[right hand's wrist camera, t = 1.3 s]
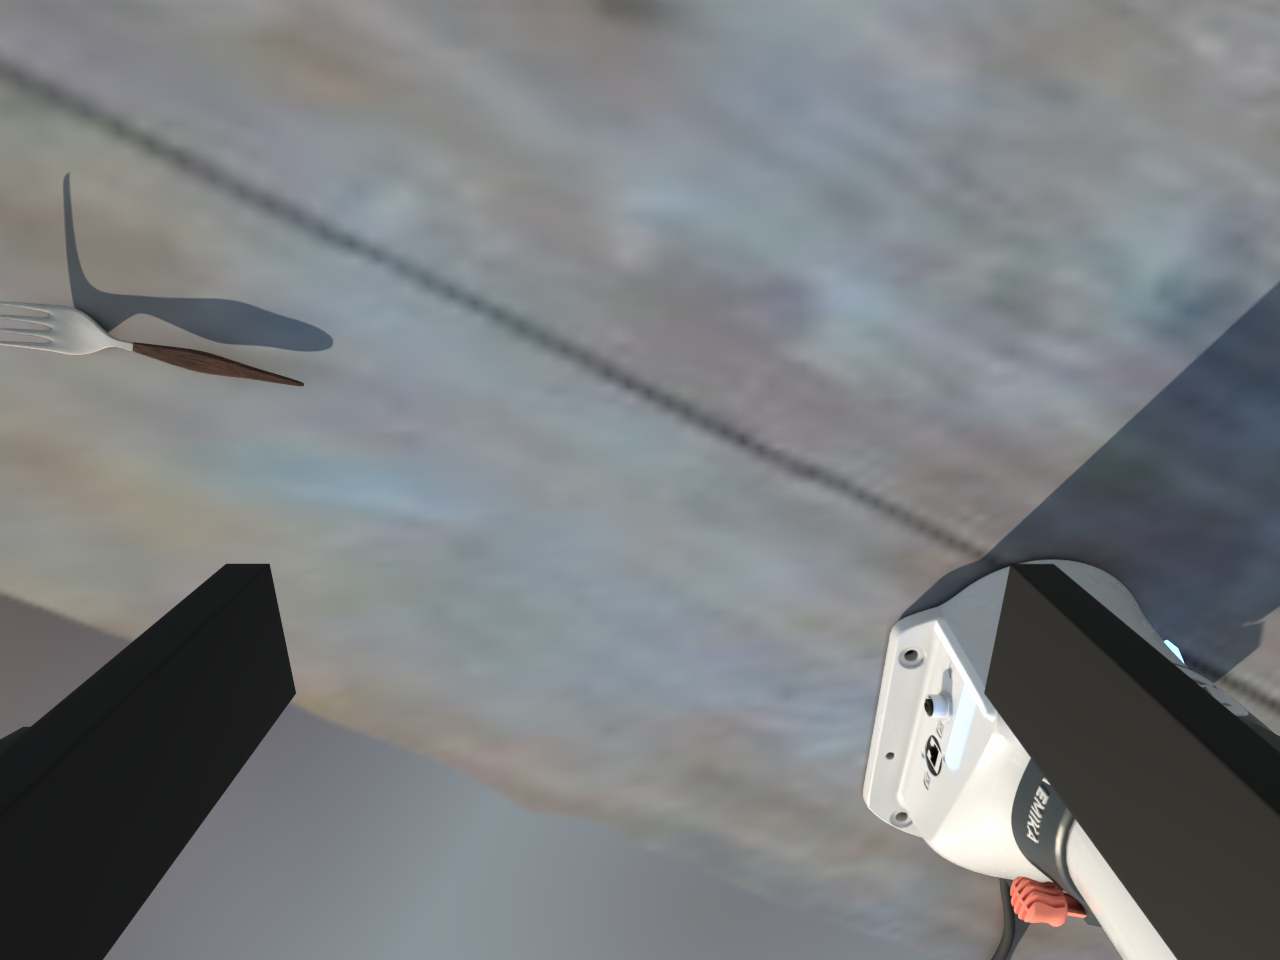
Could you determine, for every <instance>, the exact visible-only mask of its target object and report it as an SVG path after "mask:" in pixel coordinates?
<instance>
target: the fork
mask: <svg viewBox="0 0 1280 960" xmlns="http://www.w3.org/2000/svg"><path fill="white" fill-rule="evenodd" d="M0 305H4V306H11V307H18V308H25V309H32V310H38V311H43V312H46V313H48V314H49V316H47V317H30V316H14V315H0V318H2V319H9V320H17V321H24V322H31V323H38V324H43V325H46V326H48V327H49V328H50V329H48V330H29V329H9V328H0V331H1V332H8V333H16V334H24V335H31V336H38V337H44V338H47V339H49V340H50V342H49V343H30V342H7V341H0V345H9V346H17V347H25V348H33V349H41V350H48V351H54V352H60V353H66V354H74V355H81V354H89V353H93V352H96V351H98V350H101V349H104V348H107V347H120V348H124V349H127V350H130V351H133V352H136V353H139V354H142V355H145V356H148V357H151V358H154V359H157V360H160V361H163V362H166V363H169V364H172V365H175V366H178V367H181V368H185V369H188V370H192V371H196V372H201V373H207V374H214V375H221V376H230V377H238V378H246V379H253V380H260V381H267V382H274V383H280V384H287V385H295V386H304V383H302V382H300V381H297V380H294V379H290V378H287V377H284V376H281V375H277V374H274V373H271V372H267V371H264V370H261V369H257V368H254V367H251V366H248V365H244V364H241V363H238V362H235V361H232V360H229V359H226V358H223V357H220V356H217V355H214V354H210V353H206V352H202V351H197V350H192V349H185V348H177V347H169V346H161V345H152V344H144V343H135V342H128V341H123V340H119V339H116V338H114V337H112V336H111V335H110V334H108V333H107V332H106V331H105V330H104V329H103V328H102V327H101V326H100V325H99V324H97V323H96V322H95V321H94V320H93V319H92V318H91V317H90V316H88V315H87V314H85V313H84V312H82V311H80V310H77V309H75V308H72V307H67V306H59V305H45V304H33V303H19V302H3V301H0Z"/></svg>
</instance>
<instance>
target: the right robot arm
mask: <svg viewBox="0 0 1280 960" xmlns="http://www.w3.org/2000/svg"><path fill="white" fill-rule="evenodd" d="M295 694H296V691H295V686H294V681H293V676H292V672H291V667H290V662H289V657H288V652H287V647H286V642H285V637H284V632H283V627H282V623H281V618H280V613H279V608H278V603H277V598H276V593H275V588H274V583H273V578H272V574H271V569H270V564H225V565H224V566H223V567H222V568H221V569H219V570H218V571H217V572H216V573H215V574H213V575H212V576H211V577H210V578H209V579H207V580H206V581H205V582H204V583H203V584H201V585H200V586H199V587H198V588H197V589H196V590H194V591H193V592H192V593H191V594H190V595H188V596H187V597H186V598H185V599H184V600H182V601H181V602H180V603H179V604H178V605H176V606H175V607H174V608H173V609H172V610H170V611H169V612H168V613H167V614H166V615H164V616H163V617H162V618H161V619H160V620H158V621H157V622H156V623H155V624H154V625H152V626H151V627H150V628H149V629H148V630H146V631H145V632H144V633H143V634H142V635H140V636H139V637H138V638H137V639H136V640H134V641H133V642H132V643H131V644H130V645H128V646H127V647H126V648H125V649H124V650H122V651H121V652H120V653H119V654H118V655H116V656H115V657H114V658H113V659H112V660H110V661H109V662H108V663H107V664H106V665H104V666H103V667H102V668H101V669H100V670H98V671H97V672H96V673H95V674H94V675H92V676H91V677H90V678H89V679H88V680H86V681H85V682H84V683H83V684H82V685H80V686H79V687H78V688H77V689H76V690H74V691H73V692H72V693H71V694H70V695H68V696H67V697H66V698H65V699H64V700H62V701H61V702H60V703H59V704H58V705H56V706H55V707H54V708H53V709H52V710H50V711H49V712H48V713H47V714H46V715H44V716H43V717H42V718H41V719H40V720H38V721H37V722H36V723H35V724H34V725H32V726H31V727H22V728H20V729H18V730H17V731H15V732H13V733H11V734H9V735H8V736H6V737H4V738H2V739H0V960H103V959H104V957H105V956H106V955H107V953H108V952H109V950H110V949H111V948H112V946H113V945H114V944H115V942H116V941H117V939H118V938H119V937H120V935H121V934H122V933H123V931H124V930H125V928H126V927H127V926H128V924H129V923H130V922H131V920H132V919H133V917H134V916H135V915H136V913H137V912H138V911H139V909H140V908H141V906H142V905H143V904H144V902H145V901H146V899H147V898H148V897H149V895H150V894H151V893H152V891H153V890H154V888H155V887H156V886H157V884H158V883H159V882H160V880H161V879H162V877H163V876H164V875H165V873H166V872H167V870H168V869H169V868H170V866H171V865H172V864H173V862H174V861H175V859H176V858H177V857H178V855H179V854H180V853H181V851H182V850H183V848H184V847H185V846H186V844H187V843H188V842H189V840H190V839H191V837H192V836H193V835H194V833H195V832H196V831H197V829H198V828H199V826H200V825H201V824H202V822H203V821H204V819H205V818H206V817H207V815H208V814H209V813H210V811H211V810H212V808H213V807H214V806H215V804H216V803H217V802H218V800H219V799H220V797H221V796H222V795H223V793H224V792H225V790H226V789H227V788H228V786H229V785H230V784H231V782H232V781H233V780H234V778H235V777H236V775H237V774H238V773H239V771H240V770H241V768H242V767H243V766H244V764H245V763H246V762H247V760H248V759H249V757H250V756H251V755H252V753H253V752H254V751H255V749H256V748H257V746H258V745H259V744H260V742H261V741H262V739H263V738H264V737H265V735H266V734H267V733H268V731H269V730H270V728H271V727H272V726H273V724H274V723H275V722H276V720H277V719H278V717H279V716H280V715H281V713H282V712H283V711H284V709H285V708H286V706H287V705H288V704H289V702H290V701H291V700H292V698H293V697H294V695H295ZM984 694H985V695H986V697H987V698H988V700H989V701H990V702H991V704H992V705H993V706H994V708H995V709H996V711H997V712H998V713H999V715H1000V716H1001V717H1002V719H1003V720H1004V722H1005V723H1006V724H1007V726H1008V727H1009V728H1010V730H1011V731H1012V733H1013V734H1014V735H1015V737H1016V738H1017V740H1018V741H1019V742H1020V744H1021V745H1022V746H1023V748H1024V749H1025V751H1026V752H1027V753H1028V755H1029V756H1030V757H1031V759H1032V760H1033V762H1034V763H1035V764H1036V766H1037V767H1038V768H1039V770H1040V771H1041V773H1042V774H1043V775H1044V777H1045V778H1046V780H1047V781H1048V782H1049V784H1050V785H1051V786H1052V788H1053V789H1054V791H1055V792H1056V793H1057V795H1058V796H1059V797H1060V799H1061V800H1062V802H1063V803H1064V804H1065V806H1066V807H1067V808H1068V810H1069V811H1070V813H1071V814H1072V815H1073V817H1074V818H1075V820H1076V821H1077V822H1078V824H1079V825H1080V826H1081V828H1082V829H1083V831H1084V832H1085V833H1086V835H1087V836H1088V837H1089V839H1090V840H1091V842H1092V843H1093V844H1094V846H1095V847H1096V848H1097V850H1098V851H1099V853H1100V854H1101V855H1102V857H1103V858H1104V859H1105V861H1106V862H1107V864H1108V865H1109V866H1110V868H1111V869H1112V871H1113V872H1114V873H1115V875H1116V876H1117V877H1118V879H1119V880H1120V882H1121V883H1122V884H1123V886H1124V887H1125V888H1126V890H1127V891H1128V893H1129V894H1130V895H1131V897H1132V898H1133V899H1134V901H1135V902H1136V904H1137V905H1138V906H1139V908H1140V909H1141V911H1142V912H1143V913H1144V915H1145V916H1146V917H1147V919H1148V920H1149V922H1150V923H1151V924H1152V926H1153V927H1154V928H1155V930H1156V931H1157V933H1158V934H1159V935H1160V937H1161V938H1162V939H1163V941H1164V942H1165V944H1166V945H1167V946H1168V948H1169V949H1170V951H1171V952H1172V953H1173V955H1174V956H1175V957H1176V959H1177V960H1280V736H1278V735H1276V734H1274V733H1272V732H1271V731H1269V730H1267V729H1265V728H1263V727H1262V726H1260V725H1258V724H1245V723H1244V722H1243V721H1242V720H1240V719H1239V718H1238V717H1237V716H1236V715H1234V714H1233V713H1232V712H1231V711H1230V710H1228V709H1227V708H1226V707H1225V706H1224V705H1222V704H1221V703H1220V702H1219V701H1218V700H1216V699H1215V698H1214V697H1213V696H1212V695H1210V694H1209V693H1208V692H1207V691H1206V690H1204V689H1203V688H1202V687H1201V686H1200V685H1198V684H1197V683H1196V682H1195V681H1194V680H1192V679H1191V678H1190V677H1189V676H1188V675H1186V674H1185V673H1184V672H1183V671H1182V670H1180V669H1179V668H1178V667H1177V666H1176V665H1174V664H1173V663H1172V662H1171V661H1170V660H1168V659H1167V658H1166V657H1165V656H1164V655H1162V654H1161V653H1160V652H1159V651H1158V650H1156V649H1155V648H1154V647H1153V646H1152V645H1150V644H1149V643H1148V642H1147V641H1146V640H1144V639H1143V638H1142V637H1141V636H1140V635H1138V634H1137V633H1136V632H1135V631H1134V630H1132V629H1131V628H1130V627H1129V626H1128V625H1126V624H1125V623H1124V622H1123V621H1122V620H1120V619H1119V618H1118V617H1117V616H1116V615H1114V614H1113V613H1112V612H1111V611H1110V610H1108V609H1107V608H1106V607H1105V606H1104V605H1102V604H1101V603H1100V602H1099V601H1098V600H1096V599H1095V598H1094V597H1093V596H1092V595H1090V594H1089V593H1088V592H1087V591H1086V590H1084V589H1083V588H1082V587H1081V586H1080V585H1079V584H1077V583H1076V582H1075V581H1074V580H1073V579H1071V578H1070V577H1069V576H1068V575H1067V574H1065V573H1064V572H1063V571H1062V570H1061V569H1059V568H1058V567H1057V566H1056V565H1055V564H1010V569H1009V574H1008V578H1007V583H1006V588H1005V593H1004V598H1003V603H1002V608H1001V613H1000V618H999V623H998V627H997V632H996V637H995V642H994V647H993V652H992V657H991V662H990V667H989V672H988V676H987V681H986V686H985V691H984Z"/></svg>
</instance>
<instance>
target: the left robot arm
mask: <svg viewBox="0 0 1280 960" xmlns="http://www.w3.org/2000/svg"><path fill="white" fill-rule="evenodd" d="M1019 564H1055V565H1056V566H1057V567H1058V568H1059V569H1061V570H1062V571H1063V572H1064V573H1065V574H1067V575H1068V576H1069V577H1070V578H1071V579H1073V580H1074V581H1075V582H1076V583H1077V584H1079V585H1080V586H1081V587H1082V588H1083V589H1084V590H1086V591H1087V592H1088V593H1089V594H1090V595H1092V596H1093V597H1094V598H1095V599H1096V600H1098V601H1099V602H1100V603H1101V604H1102V605H1104V606H1105V607H1106V608H1107V609H1108V610H1110V611H1111V612H1112V613H1113V614H1114V615H1116V616H1117V617H1118V618H1119V619H1120V620H1122V621H1123V622H1124V623H1125V624H1126V625H1128V626H1129V627H1130V628H1131V629H1132V630H1134V631H1135V632H1136V633H1137V634H1138V635H1140V636H1141V637H1142V638H1143V639H1144V640H1146V641H1147V642H1148V643H1149V644H1150V645H1152V646H1153V647H1154V648H1155V649H1156V650H1158V651H1159V652H1160V653H1161V654H1162V655H1164V656H1165V657H1166V658H1167V659H1168V660H1170V661H1171V662H1172V663H1173V664H1174V665H1176V666H1177V667H1178V668H1179V669H1180V670H1182V671H1183V672H1184V673H1185V674H1186V675H1188V676H1189V677H1190V678H1191V679H1192V680H1194V681H1195V682H1196V683H1197V684H1198V685H1200V686H1201V687H1202V688H1203V689H1204V690H1206V691H1207V692H1208V693H1209V694H1210V695H1212V696H1213V697H1214V698H1215V699H1216V700H1218V701H1219V702H1220V703H1221V704H1222V705H1224V706H1225V707H1226V708H1227V709H1228V710H1230V711H1231V712H1232V713H1233V714H1234V715H1236V716H1237V717H1238V718H1239V719H1240V720H1242V721H1243V722H1244V723H1245V724H1258V725H1260V726H1262V727H1263V728H1265V729H1267V730H1269V731H1271V730H1270V729H1269V728H1268V727H1267V726H1265V725H1264V724H1263V723H1262V722H1261V721H1260V720H1258V719H1257V718H1256V717H1255V716H1253V715H1252V714H1251V713H1250V712H1248V711H1247V709H1246V708H1245V707H1244V706H1243V705H1242V704H1241V703H1239V702H1238V701H1237V700H1236V699H1235V698H1233V697H1232V696H1231V695H1229V694H1228V693H1227V692H1225V691H1224V690H1223V689H1221V688H1220V687H1218V686H1217V685H1216V684H1214V683H1212V682H1211V681H1209V680H1208V679H1206V678H1204V677H1203V676H1202V675H1200V674H1199V673H1197V672H1195V671H1193V670H1192V669H1189V668H1188V667H1187V666H1186V665H1185V664H1184V662H1183V659H1182V657H1181V654H1180V652H1179V650H1178V648H1177V647H1176V646H1174V645H1173V644H1172V643H1171V642H1169V641H1168V640H1166V641H1163V640H1162V638H1161V637H1160V636H1159V635H1158V634H1157V632H1156V631H1155V630H1154V629H1153V627H1152V626H1151V625H1150V623H1149V622H1148V621H1147V619H1146V618H1145V616H1144V615H1143V613H1142V611H1141V610H1140V608H1139V606H1138V604H1137V602H1136V600H1135V599H1134V597H1133V596H1132V594H1131V593H1130V592H1129V590H1128V589H1127V588H1126V587H1125V586H1124V585H1123V584H1122V583H1121V582H1120V581H1119V580H1117V579H1116V578H1115V577H1113V576H1112V575H1110V574H1109V573H1107V572H1105V571H1103V570H1101V569H1099V568H1096V567H1094V566H1091V565H1088V564H1085V563H1081V562H1076V561H1070V560H1057V559H1049V560H1036V561H1029V562H1024V563H1019ZM1009 569H1010V566H1009V567H1006V568H1003V569H1000V570H998V571H995V572H993V573H991V574H989V575H987V576H985V577H983V578H981V579H979V580H977V581H976V582H974V583H973V584H971V585H969V586H968V587H967V588H965V589H964V590H962V591H961V592H960V593H958V594H957V595H956V596H954V597H953V598H951V599H950V600H948V601H947V602H945V603H944V604H942V605H940V606H938V607H934V608H931V609H927V610H924V611H921V612H918V613H915V614H912V615H910V616H907V617H905V618H903V619H901V620H900V621H898V622H897V623H896V624H895V625H894V626H893V628H892V630H891V633H890V638H889V644H888V649H887V655H886V661H885V667H884V672H883V678H882V684H881V690H880V695H879V701H878V707H877V713H876V718H875V724H874V730H873V736H872V741H871V747H870V753H869V759H868V764H867V770H866V776H865V782H864V788H863V798H864V800H865V802H866V804H867V806H868V808H869V809H870V810H871V811H872V812H873V813H874V814H875V815H877V816H878V817H879V818H880V819H882V820H883V821H885V822H887V823H888V824H890V825H892V826H894V827H896V828H898V829H900V830H902V831H905V832H907V833H910V834H913V835H916V836H919V837H923V839H924V840H925V841H926V842H927V844H928V845H929V846H930V847H931V848H932V849H933V850H934V851H936V852H937V853H938V854H940V855H941V856H942V857H944V858H945V859H947V860H949V861H951V862H953V863H955V864H957V865H959V866H962V867H964V868H966V869H969V870H972V871H975V872H978V873H982V874H986V875H990V876H995V877H999V878H1000V887H1001V895H1002V901H1003V908H1004V932H1003V936H1002V939H1001V942H1000V944H999V947H998V949H997V951H996V953H995V954H994V956H993V958H992V959H991V960H1005V959H1006V957H1007V955H1008V953H1009V951H1010V948H1011V946H1012V943H1013V939H1014V933H1015V915H1014V912H1015V913H1016V914H1018V918H1020V919H1021V920H1024V921H1025V922H1032V923H1036V922H1046V923H1048V924H1050V925H1052V926H1060V925H1062V924H1063V923H1064V922H1065V920H1066V918H1067V915H1070V916H1076V917H1082V918H1084V920H1085V921H1086V923H1087V924H1089V925H1093V926H1098V927H1103V929H1104V930H1105V932H1106V933H1107V935H1108V936H1109V938H1110V940H1111V941H1112V943H1113V944H1114V946H1115V947H1116V949H1117V950H1118V952H1119V953H1120V955H1121V956H1122V958H1123V959H1124V960H1177V959H1176V957H1175V956H1174V955H1173V953H1172V952H1171V951H1170V949H1169V948H1168V946H1167V945H1166V944H1165V942H1164V941H1163V939H1162V938H1161V937H1160V935H1159V934H1158V933H1157V931H1156V930H1155V928H1154V927H1153V926H1152V924H1151V923H1150V922H1149V920H1148V919H1147V917H1146V916H1145V915H1144V913H1143V912H1142V911H1141V909H1140V908H1139V906H1138V905H1137V904H1136V902H1135V901H1134V899H1133V898H1132V897H1131V895H1130V894H1129V893H1128V891H1127V890H1126V888H1125V887H1124V886H1123V884H1122V883H1121V882H1120V880H1119V879H1118V877H1117V876H1116V875H1115V873H1114V872H1113V871H1112V869H1111V868H1110V866H1109V865H1108V864H1107V862H1106V861H1105V859H1104V858H1103V857H1102V855H1101V854H1100V853H1099V851H1098V850H1097V848H1096V847H1095V846H1094V844H1093V843H1092V842H1091V840H1090V839H1089V837H1088V836H1087V835H1086V833H1085V832H1084V831H1083V829H1082V828H1081V826H1080V825H1079V824H1078V822H1077V821H1076V820H1075V818H1074V817H1073V815H1072V814H1071V813H1070V811H1069V810H1068V808H1067V807H1066V806H1065V804H1064V803H1063V802H1062V800H1061V799H1060V797H1059V796H1058V795H1057V793H1056V792H1055V791H1054V789H1053V788H1052V786H1051V785H1050V784H1049V782H1048V781H1047V780H1046V778H1045V777H1044V775H1043V774H1042V773H1041V771H1040V770H1039V768H1038V767H1037V766H1036V764H1035V763H1034V762H1033V760H1032V759H1031V757H1030V756H1029V755H1028V753H1027V752H1026V751H1025V749H1024V748H1023V746H1022V745H1021V744H1020V742H1019V741H1018V740H1017V738H1016V737H1015V735H1014V734H1013V733H1012V731H1011V730H1010V728H1009V727H1008V726H1007V724H1006V723H1005V722H1004V720H1003V719H1002V717H1001V716H1000V715H999V713H998V712H997V711H996V709H995V708H994V706H993V705H992V704H991V702H990V701H989V700H988V698H987V697H986V695H985V694H984V691H985V686H986V681H987V676H988V672H989V667H990V662H991V657H992V652H993V647H994V642H995V637H996V632H997V627H998V623H999V618H1000V613H1001V608H1002V603H1003V598H1004V593H1005V588H1006V583H1007V578H1008V574H1009ZM909 650H913V652H912V653H911V654H908V655H905V653H906V652H907V651H909ZM1271 732H1272V731H1271ZM1272 733H1273V732H1272ZM1274 734H1275V733H1274ZM900 812H901V813H900ZM1010 888H1011V889H1010ZM1062 890H1065V891H1066V892H1067V893H1063V891H1062ZM1013 906H1015V907H1013Z"/></svg>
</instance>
